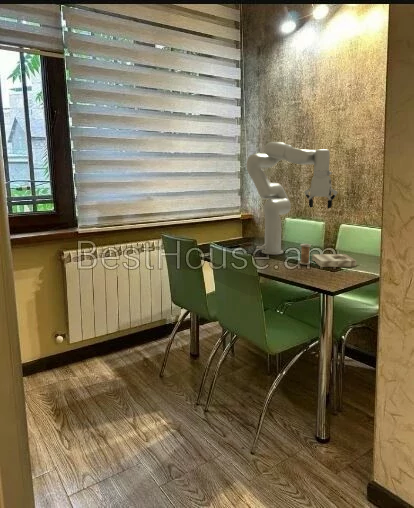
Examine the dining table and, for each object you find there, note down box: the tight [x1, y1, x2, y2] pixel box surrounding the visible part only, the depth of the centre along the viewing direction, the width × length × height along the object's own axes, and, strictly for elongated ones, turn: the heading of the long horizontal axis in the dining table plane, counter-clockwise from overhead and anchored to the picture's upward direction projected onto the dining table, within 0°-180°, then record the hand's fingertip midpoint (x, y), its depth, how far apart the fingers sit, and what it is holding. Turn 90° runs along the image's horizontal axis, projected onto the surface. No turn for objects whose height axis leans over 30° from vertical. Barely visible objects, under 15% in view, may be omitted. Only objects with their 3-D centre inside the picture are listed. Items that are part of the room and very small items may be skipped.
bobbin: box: [299, 243, 312, 266], centre depth 213 cm, size 5×5×10 cm
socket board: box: [311, 253, 358, 268], centre depth 214 cm, size 18×16×3 cm
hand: (320, 207), depth 213 cm, fingers open, 9 cm apart
